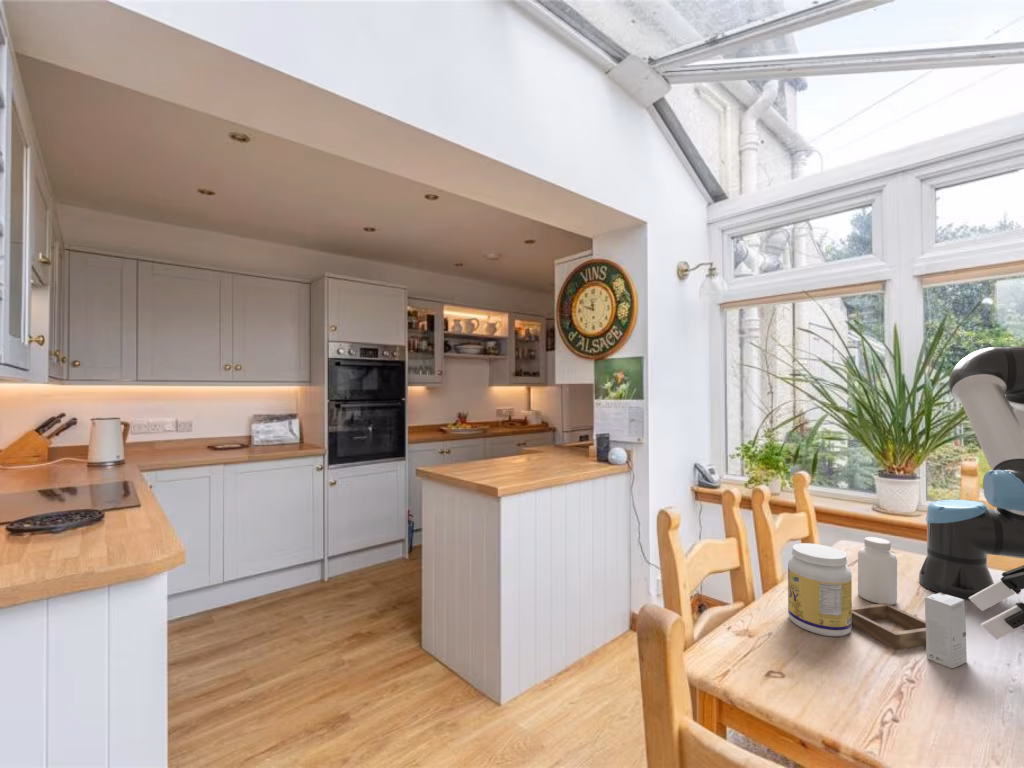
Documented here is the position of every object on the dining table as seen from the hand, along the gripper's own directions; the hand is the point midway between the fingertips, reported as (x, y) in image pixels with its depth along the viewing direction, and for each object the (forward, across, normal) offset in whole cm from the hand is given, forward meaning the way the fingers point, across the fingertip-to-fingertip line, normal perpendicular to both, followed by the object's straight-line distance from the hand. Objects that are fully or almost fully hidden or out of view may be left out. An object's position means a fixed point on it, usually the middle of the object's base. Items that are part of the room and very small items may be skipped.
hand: (981, 617), depth 90 cm
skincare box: (+11, +1, -4) cm, 12 cm away
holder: (+17, +8, +2) cm, 19 cm away
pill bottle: (+18, +27, +4) cm, 33 cm away
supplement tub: (+26, +3, +11) cm, 28 cm away
